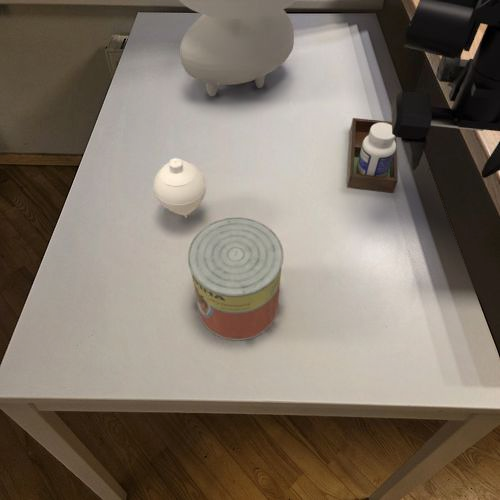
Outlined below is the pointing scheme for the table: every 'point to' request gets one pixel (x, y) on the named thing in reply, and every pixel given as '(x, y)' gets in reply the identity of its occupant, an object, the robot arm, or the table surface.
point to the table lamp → (236, 41)
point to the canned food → (236, 277)
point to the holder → (355, 180)
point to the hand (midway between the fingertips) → (448, 171)
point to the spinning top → (180, 186)
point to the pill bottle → (377, 151)
